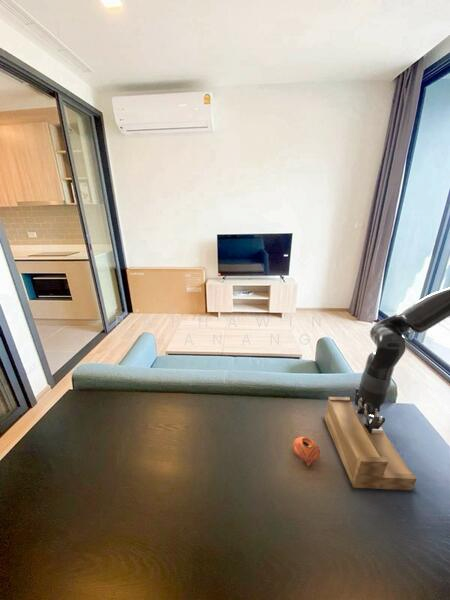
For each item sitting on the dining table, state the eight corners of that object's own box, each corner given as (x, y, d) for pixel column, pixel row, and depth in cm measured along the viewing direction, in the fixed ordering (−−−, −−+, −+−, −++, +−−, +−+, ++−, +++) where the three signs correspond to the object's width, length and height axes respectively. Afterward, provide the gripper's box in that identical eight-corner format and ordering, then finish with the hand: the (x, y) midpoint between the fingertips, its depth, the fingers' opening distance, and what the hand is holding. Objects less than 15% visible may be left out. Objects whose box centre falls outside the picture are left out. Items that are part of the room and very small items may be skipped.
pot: (289, 464, 74) (292, 443, 73) (293, 447, 81) (295, 428, 80) (317, 474, 71) (320, 453, 70) (319, 456, 78) (321, 437, 77)
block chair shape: (375, 422, 84) (378, 414, 82) (383, 433, 80) (385, 425, 78) (352, 421, 84) (354, 413, 83) (358, 432, 80) (360, 424, 79)
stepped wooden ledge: (368, 420, 89) (375, 397, 85) (412, 490, 67) (423, 463, 64) (324, 419, 90) (328, 396, 86) (353, 487, 68) (360, 461, 64)
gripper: (401, 402, 69) (386, 446, 75) (374, 370, 82) (363, 410, 88) (374, 401, 69) (362, 445, 75) (351, 370, 82) (342, 409, 89)
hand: (363, 425), depth 82 cm, fingers closed on block chair shape, 4 cm apart
